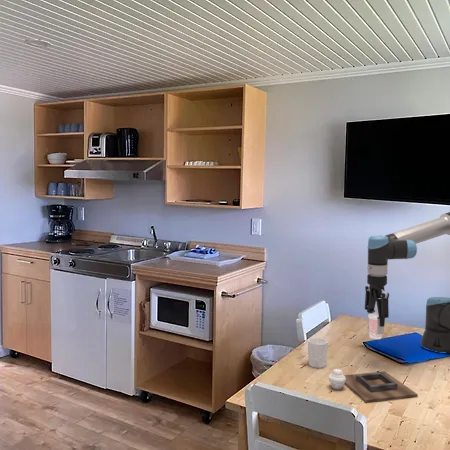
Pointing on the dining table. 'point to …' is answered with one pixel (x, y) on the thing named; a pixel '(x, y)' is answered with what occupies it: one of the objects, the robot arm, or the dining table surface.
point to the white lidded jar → (337, 379)
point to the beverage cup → (373, 326)
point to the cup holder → (377, 387)
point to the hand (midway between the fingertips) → (375, 330)
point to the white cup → (317, 352)
